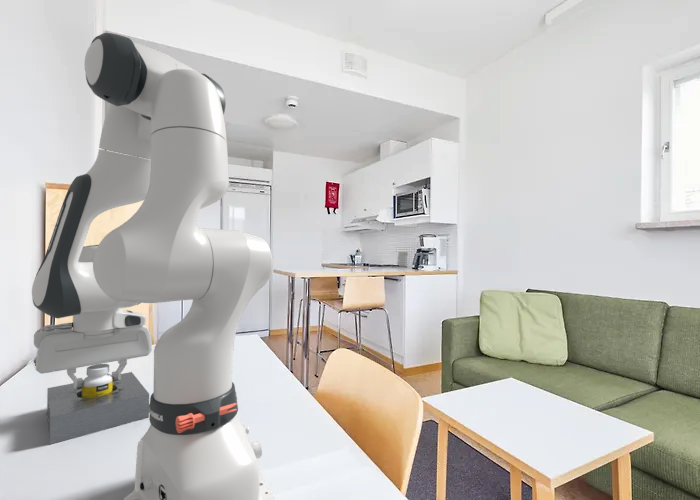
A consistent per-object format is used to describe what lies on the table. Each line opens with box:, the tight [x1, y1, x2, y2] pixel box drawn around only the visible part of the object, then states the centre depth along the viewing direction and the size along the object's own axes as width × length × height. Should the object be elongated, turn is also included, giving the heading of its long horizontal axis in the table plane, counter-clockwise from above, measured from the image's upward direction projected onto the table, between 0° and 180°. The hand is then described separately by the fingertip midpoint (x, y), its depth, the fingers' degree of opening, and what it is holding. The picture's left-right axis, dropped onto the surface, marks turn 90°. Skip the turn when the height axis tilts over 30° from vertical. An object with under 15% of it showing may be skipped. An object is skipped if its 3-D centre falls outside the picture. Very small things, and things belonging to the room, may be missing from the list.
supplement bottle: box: [82, 363, 113, 398], centre depth 76 cm, size 5×5×10 cm
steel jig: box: [46, 371, 150, 445], centre depth 76 cm, size 18×16×5 cm
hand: (97, 384), depth 76 cm, fingers closed on supplement bottle, 5 cm apart
